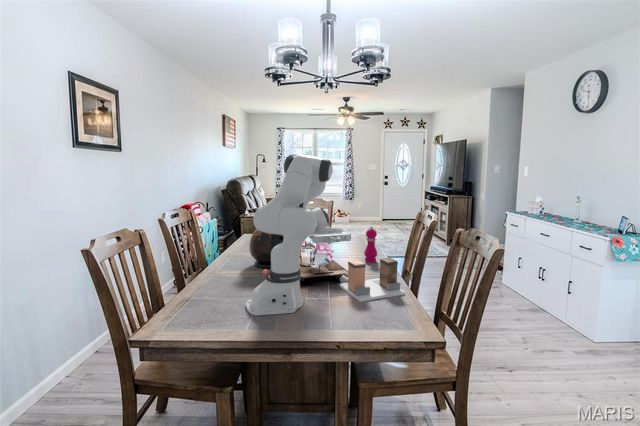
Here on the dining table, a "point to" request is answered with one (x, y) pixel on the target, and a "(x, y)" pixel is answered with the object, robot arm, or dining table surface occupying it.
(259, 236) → the amphora vase
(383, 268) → the walnut plug
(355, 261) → the terracotta plug
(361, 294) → the plate
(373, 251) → the pepper mill
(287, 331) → the dining table surface
